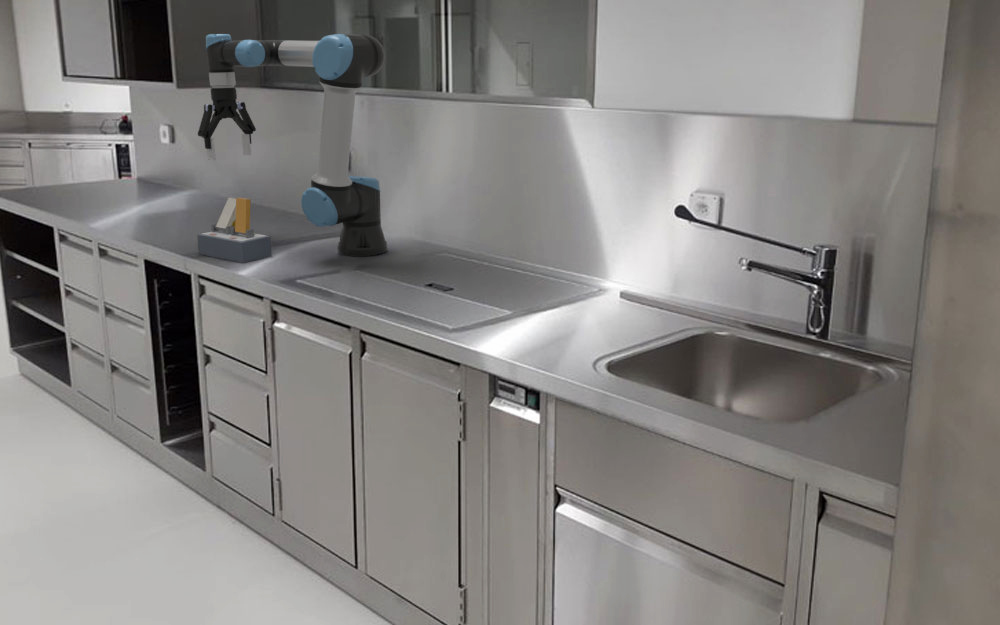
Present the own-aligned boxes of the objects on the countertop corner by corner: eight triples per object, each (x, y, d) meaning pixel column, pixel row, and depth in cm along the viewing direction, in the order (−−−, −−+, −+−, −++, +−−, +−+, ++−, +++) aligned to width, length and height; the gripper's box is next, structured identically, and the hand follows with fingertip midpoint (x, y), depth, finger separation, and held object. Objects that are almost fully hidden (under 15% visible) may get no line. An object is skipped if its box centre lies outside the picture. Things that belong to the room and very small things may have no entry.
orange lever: (250, 235, 275) (251, 199, 273) (246, 235, 274) (247, 199, 272) (238, 233, 278) (239, 197, 276) (233, 233, 277) (234, 197, 275)
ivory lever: (229, 233, 280) (243, 201, 282) (225, 230, 278) (239, 199, 281) (217, 230, 283) (231, 199, 285) (213, 228, 281) (227, 197, 284)
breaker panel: (272, 256, 279) (270, 227, 276) (243, 263, 270) (240, 234, 268) (228, 247, 290) (225, 220, 287) (199, 254, 281) (196, 226, 279)
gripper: (247, 85, 293) (253, 152, 299) (180, 88, 274) (188, 160, 280) (263, 85, 289) (269, 153, 295) (196, 89, 270) (204, 162, 275)
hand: (230, 157), depth 287 cm, fingers open, 13 cm apart
